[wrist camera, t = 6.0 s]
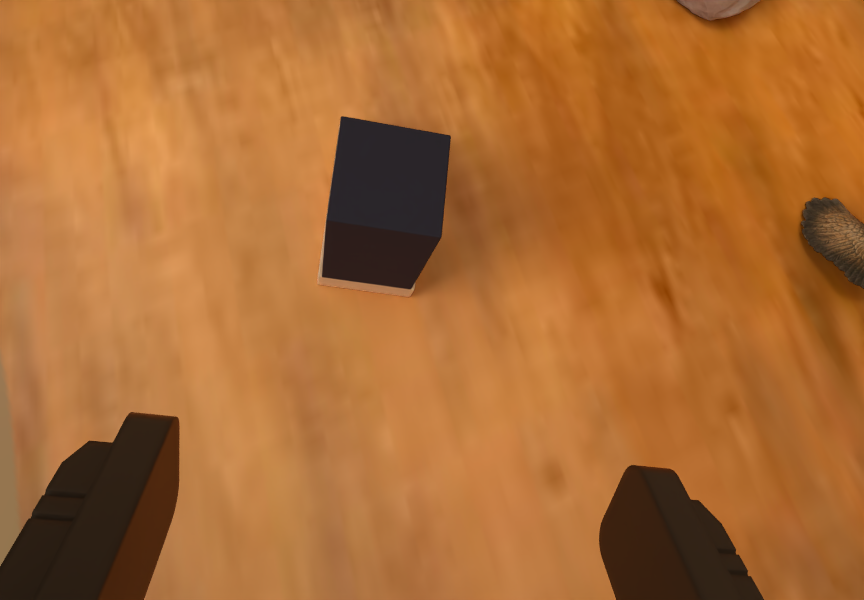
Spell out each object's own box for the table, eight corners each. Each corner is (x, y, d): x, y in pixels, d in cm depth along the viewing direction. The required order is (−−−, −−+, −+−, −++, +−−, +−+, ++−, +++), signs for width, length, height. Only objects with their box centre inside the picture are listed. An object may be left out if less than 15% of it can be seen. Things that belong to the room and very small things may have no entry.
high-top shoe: (410, 297, 35) (446, 238, 26) (317, 285, 34) (321, 219, 25) (426, 147, 38) (463, 46, 29) (339, 132, 37) (349, 23, 28)
